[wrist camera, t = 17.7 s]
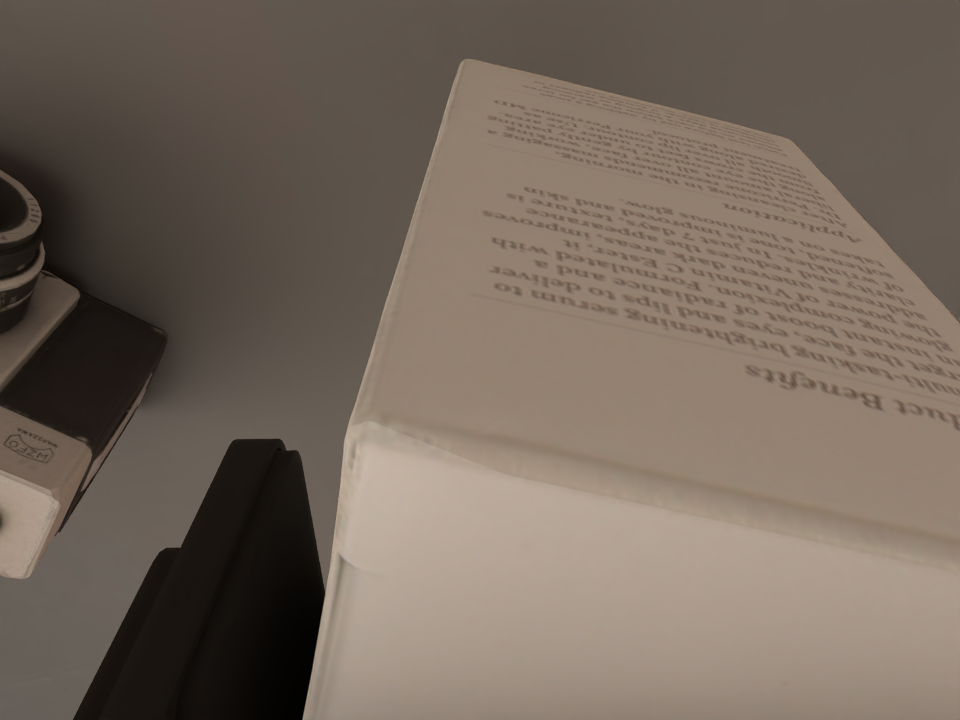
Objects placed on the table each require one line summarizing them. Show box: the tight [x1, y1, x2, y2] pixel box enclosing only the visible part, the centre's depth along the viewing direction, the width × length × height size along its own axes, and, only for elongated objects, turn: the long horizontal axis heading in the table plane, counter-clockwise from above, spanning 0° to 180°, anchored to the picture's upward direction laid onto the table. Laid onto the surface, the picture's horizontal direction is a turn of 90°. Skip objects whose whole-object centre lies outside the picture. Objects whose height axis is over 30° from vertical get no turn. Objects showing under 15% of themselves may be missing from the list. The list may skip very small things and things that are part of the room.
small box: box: [303, 59, 960, 720], centre depth 12 cm, size 8×6×10 cm
